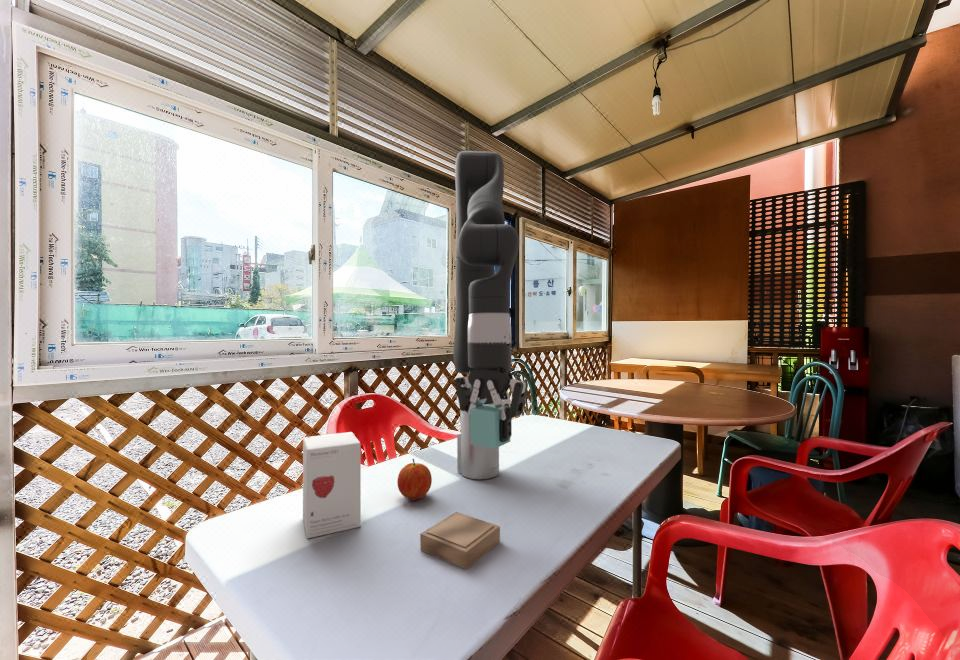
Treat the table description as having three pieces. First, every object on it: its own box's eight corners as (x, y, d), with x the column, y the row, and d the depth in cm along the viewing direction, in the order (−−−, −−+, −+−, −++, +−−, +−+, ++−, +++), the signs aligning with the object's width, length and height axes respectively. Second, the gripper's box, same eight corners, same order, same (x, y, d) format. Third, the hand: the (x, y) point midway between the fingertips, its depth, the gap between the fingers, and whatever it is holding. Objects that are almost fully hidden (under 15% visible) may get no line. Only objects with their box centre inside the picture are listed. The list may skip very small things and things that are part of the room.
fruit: (438, 497, 81) (438, 458, 81) (411, 508, 76) (411, 467, 76) (417, 488, 86) (417, 451, 86) (390, 498, 81) (390, 459, 81)
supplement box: (305, 540, 65) (304, 449, 65) (302, 517, 73) (301, 436, 73) (362, 527, 69) (361, 441, 69) (353, 507, 77) (352, 430, 77)
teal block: (470, 444, 68) (469, 408, 68) (486, 437, 72) (486, 404, 72) (495, 448, 65) (494, 412, 65) (510, 441, 69) (509, 407, 69)
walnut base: (420, 549, 62) (420, 532, 62) (456, 526, 69) (456, 510, 69) (466, 569, 57) (466, 550, 57) (499, 541, 64) (499, 524, 64)
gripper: (443, 340, 69) (444, 437, 69) (515, 340, 61) (516, 450, 61) (468, 339, 75) (469, 429, 75) (536, 339, 67) (537, 439, 67)
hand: (490, 438), depth 68 cm, fingers closed on teal block, 5 cm apart
